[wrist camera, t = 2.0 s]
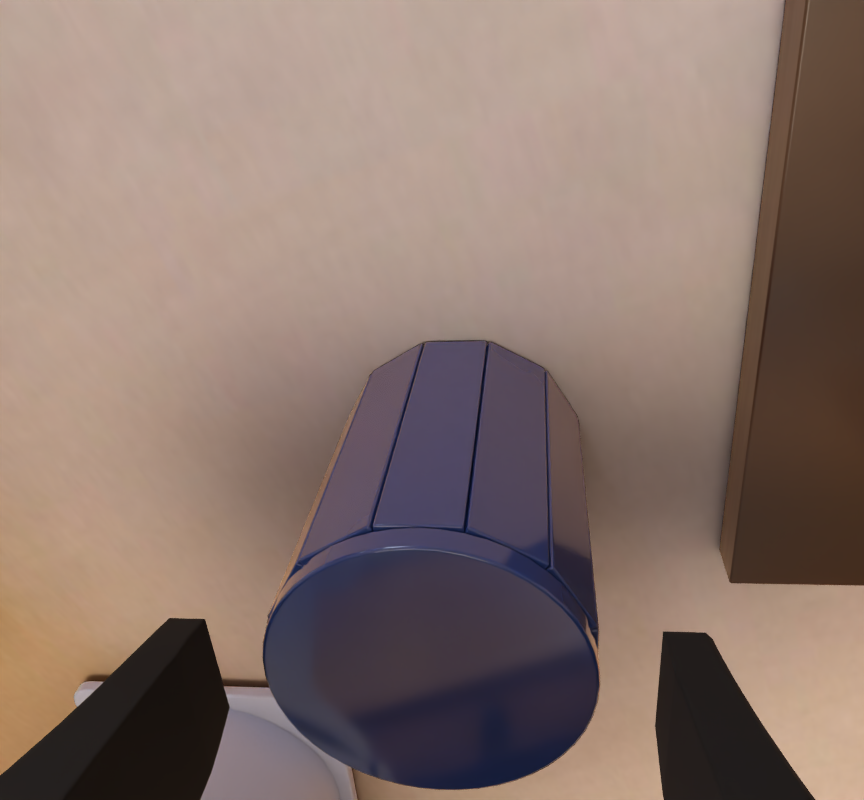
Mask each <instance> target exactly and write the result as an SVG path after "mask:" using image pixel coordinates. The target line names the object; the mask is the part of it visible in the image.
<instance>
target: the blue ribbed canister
mask: <svg viewBox="0 0 864 800" xmlns="http://www.w3.org/2000/svg"><path fill="white" fill-rule="evenodd" d="M598 649H599V624H598V614H597V604H596V593H595V583H594V573H593V562H592V552H591V541H590V531H589V521H588V510H587V500H586V490H585V479H584V469H583V458H582V448H581V438H580V427H579V420H578V418H577V415H576V413H575V412H574V410H573V409H572V407H571V406H570V404H569V403H568V401H567V400H566V398H565V397H564V395H563V394H562V392H561V391H560V389H559V388H558V386H557V385H556V383H555V382H554V380H553V379H552V377H551V376H550V374H549V373H548V372H547V371H545V372H544V368H543V367H540V366H538V365H536V364H534V363H532V362H530V361H528V360H526V359H524V358H522V357H520V356H518V355H516V354H514V353H512V352H510V351H508V350H506V349H504V348H502V347H500V346H498V345H496V344H494V343H492V342H489V343H488V345H487V342H486V341H454V342H425V344H424V345H423V344H419V345H417V346H416V347H414V348H412V349H410V350H409V351H407V352H405V353H404V354H402V355H400V356H398V357H397V358H395V359H393V360H392V361H390V362H388V363H386V364H385V365H383V366H381V367H380V368H378V369H376V370H374V371H373V373H372V374H370V375H369V377H368V379H367V381H366V383H365V385H364V387H363V389H362V391H361V393H360V395H359V397H358V399H357V401H356V403H355V405H354V407H353V409H352V411H351V413H350V415H349V417H348V419H347V422H346V424H345V427H344V429H343V432H342V434H341V437H340V439H339V442H338V444H337V446H336V449H335V451H334V454H333V456H332V459H331V461H330V464H329V466H328V469H327V471H326V473H325V476H324V478H323V481H322V483H321V486H320V488H319V491H318V493H317V496H316V498H315V500H314V503H313V505H312V508H311V510H310V513H309V515H308V518H307V520H306V523H305V525H304V528H303V530H302V532H301V535H300V537H299V540H298V542H297V545H296V547H295V550H294V552H293V555H292V557H291V559H290V562H289V564H288V567H287V569H286V572H285V574H284V577H283V579H282V582H281V584H280V587H279V589H278V591H277V594H276V596H275V599H274V601H273V604H272V606H271V609H270V611H269V614H268V620H267V626H266V630H265V634H264V639H263V664H264V670H265V676H266V679H267V682H268V685H269V688H270V691H271V693H272V695H273V697H274V699H275V701H276V703H277V705H278V706H279V708H280V709H281V710H282V712H283V713H284V715H285V716H286V718H287V719H288V720H289V721H290V722H291V723H292V725H293V726H294V727H295V728H296V729H297V730H298V731H299V732H300V733H301V734H302V735H303V736H304V737H305V738H306V739H308V740H309V741H310V742H311V743H312V744H313V745H315V746H316V747H318V748H319V749H320V750H322V751H323V752H325V753H326V754H327V755H329V756H331V757H332V758H334V759H336V760H338V761H339V762H341V763H343V764H345V765H347V766H349V767H351V768H353V769H355V770H358V771H360V772H362V773H365V774H367V775H370V776H373V777H376V778H378V779H381V780H385V781H389V782H393V783H396V784H400V785H406V786H411V787H417V788H425V789H435V790H467V789H479V788H485V787H491V786H497V785H501V784H505V783H508V782H512V781H516V780H518V779H521V778H523V777H526V776H529V775H531V774H533V773H535V772H537V771H539V770H541V769H543V768H545V767H547V766H549V765H550V764H551V763H553V762H554V761H556V760H557V759H559V758H560V757H561V756H563V755H564V754H565V753H566V752H567V751H568V750H569V749H570V748H571V747H572V746H574V745H575V743H576V742H577V741H578V740H579V738H580V737H581V736H582V734H583V733H584V732H585V730H586V728H587V727H588V725H589V723H590V721H591V719H592V717H593V715H594V712H595V709H596V706H597V703H598V699H599V691H600V671H599V659H598Z"/></svg>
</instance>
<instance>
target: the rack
mask: <svg viewBox="0 0 864 800" xmlns="http://www.w3.org/2000/svg"><path fill="white" fill-rule="evenodd" d="M719 550H720V553H721V556H722V560H723V563H724V566H725V569H726V572H727V575H728V579H729V581H730V583H752V584H809V585H864V0H786V4H785V12H784V20H783V28H782V37H781V45H780V53H779V62H778V70H777V78H776V86H775V95H774V103H773V111H772V119H771V128H770V136H769V144H768V152H767V161H766V169H765V177H764V186H763V194H762V202H761V210H760V219H759V227H758V235H757V243H756V252H755V260H754V268H753V277H752V285H751V293H750V301H749V310H748V318H747V326H746V334H745V343H744V351H743V359H742V368H741V376H740V384H739V392H738V401H737V409H736V417H735V425H734V434H733V442H732V450H731V459H730V467H729V475H728V483H727V492H726V500H725V508H724V516H723V525H722V533H721V541H720V549H719Z"/></svg>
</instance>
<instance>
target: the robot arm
mask: <svg viewBox="0 0 864 800" xmlns="http://www.w3.org/2000/svg"><path fill="white" fill-rule="evenodd" d="M74 701H75V704H76V706H77V708H76V709H75V710H74V711H73V712H72V713H70V714H69V715H68V716H67V717H66V718H65V719H64V720H63V721H62V722H61V723H60V724H59V725H58V726H56V727H55V728H54V729H53V730H52V731H51V732H50V733H48V734H47V735H46V736H45V737H44V738H43V739H42V740H41V741H39V742H38V743H37V744H36V745H35V746H34V747H33V748H31V749H30V750H29V751H28V752H27V753H26V754H25V755H23V756H22V757H21V758H20V759H19V760H18V761H17V762H15V763H14V764H13V765H12V766H11V767H10V768H9V769H8V770H6V771H5V772H4V773H3V774H2V775H0V800H357V794H356V789H355V784H354V778H353V773H352V768H351V767H349V766H347V765H345V764H343V763H341V762H339V761H338V760H336V759H334V758H332V757H331V756H329V755H327V754H326V753H325V752H323V751H322V750H320V749H319V748H318V747H316V746H315V745H313V744H312V743H311V742H310V741H309V740H308V739H306V738H305V737H304V736H303V735H302V734H301V733H300V732H299V731H298V730H297V729H296V728H295V727H294V726H293V725H292V723H291V722H290V721H289V720H288V719H287V718H286V716H285V715H284V713H283V712H282V710H281V709H280V708H279V706H278V705H277V703H276V701H275V699H274V697H273V695H272V693H271V691H270V688H262V687H235V686H224V685H223V682H222V678H221V675H220V671H219V667H218V664H217V660H216V657H215V653H214V650H213V646H212V643H211V639H210V635H209V632H208V628H207V625H206V621H205V619H179V618H169V619H168V620H167V621H166V622H165V623H164V624H163V625H162V626H161V627H160V628H159V629H158V630H157V631H155V632H154V633H153V634H152V635H151V636H150V637H149V638H148V639H147V640H146V641H145V642H144V643H143V644H142V645H141V646H140V647H139V648H138V649H137V650H136V651H135V652H134V653H133V654H132V655H131V656H130V657H129V658H128V659H127V660H126V661H125V662H124V663H123V664H122V665H121V666H120V667H119V668H118V669H117V670H115V671H114V672H113V673H112V674H111V675H110V676H109V677H108V678H107V679H106V680H105V681H104V682H101V681H88V682H84V683H82V684H80V686H79V687H78V689H77V691H76V692H75V694H74ZM655 727H656V737H657V746H658V755H659V765H660V773H661V782H662V790H663V797H664V800H815V799H814V797H813V796H812V795H811V793H810V792H809V791H808V789H807V788H806V787H805V785H804V784H803V782H802V781H801V780H800V778H799V777H798V775H797V774H796V773H795V771H794V770H793V769H792V767H791V766H790V764H789V763H788V761H787V760H786V758H785V757H784V755H783V754H782V753H781V751H780V750H779V748H778V747H777V745H776V744H775V742H774V741H773V739H772V738H771V736H770V735H769V734H768V732H767V731H766V729H765V728H764V726H763V725H762V723H761V721H760V720H759V718H758V717H757V715H756V714H755V712H754V711H753V709H752V707H751V706H750V704H749V702H748V701H747V699H746V698H745V696H744V694H743V693H742V691H741V690H740V688H739V686H738V684H737V683H736V681H735V679H734V678H733V676H732V674H731V673H730V671H729V669H728V667H727V665H726V664H725V662H724V660H723V658H722V656H721V655H720V653H719V651H718V649H717V647H716V645H715V643H714V641H713V639H712V638H711V637H710V636H709V635H708V634H706V633H696V632H663V641H662V653H661V664H660V676H659V688H658V700H657V712H656V723H655Z"/></svg>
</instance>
